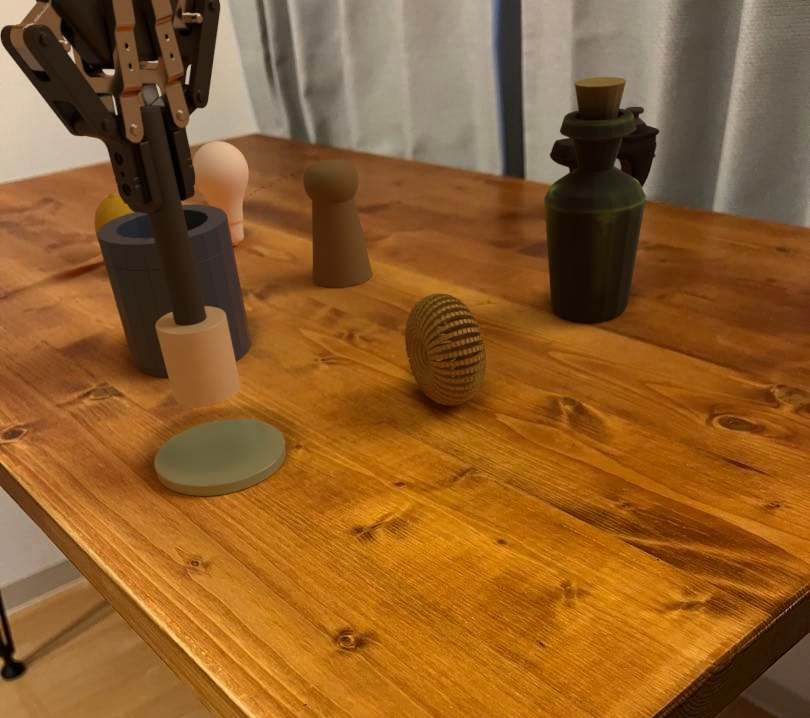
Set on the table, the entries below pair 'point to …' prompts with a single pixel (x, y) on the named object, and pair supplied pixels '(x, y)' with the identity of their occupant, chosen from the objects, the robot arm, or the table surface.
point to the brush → (186, 294)
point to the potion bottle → (594, 210)
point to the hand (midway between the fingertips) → (162, 203)
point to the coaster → (220, 457)
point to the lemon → (110, 210)
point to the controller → (631, 154)
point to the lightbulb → (223, 182)
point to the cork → (336, 225)
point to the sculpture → (445, 349)
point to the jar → (145, 287)
